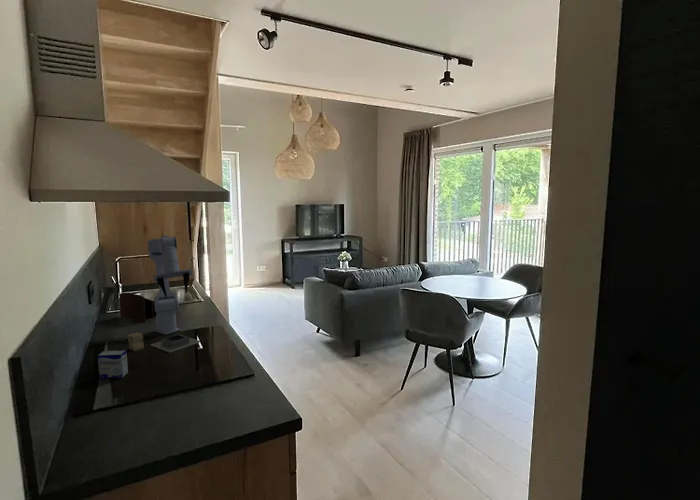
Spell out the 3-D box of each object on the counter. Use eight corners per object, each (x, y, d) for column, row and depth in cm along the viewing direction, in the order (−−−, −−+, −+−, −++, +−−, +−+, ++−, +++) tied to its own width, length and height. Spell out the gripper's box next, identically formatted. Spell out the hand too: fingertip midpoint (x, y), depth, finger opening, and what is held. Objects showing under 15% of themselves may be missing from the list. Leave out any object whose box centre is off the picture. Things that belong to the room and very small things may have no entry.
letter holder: (144, 322, 201) (142, 295, 200) (120, 318, 210) (117, 291, 208) (161, 317, 210) (160, 291, 208) (137, 313, 219) (135, 288, 217)
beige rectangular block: (129, 349, 165) (128, 335, 164) (138, 346, 168) (137, 332, 167) (134, 351, 162) (132, 336, 162) (143, 348, 166) (142, 334, 165)
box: (98, 379, 136) (96, 355, 135) (105, 373, 141) (103, 350, 140) (122, 378, 137) (120, 354, 136) (128, 372, 142) (126, 349, 141)
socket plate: (150, 345, 168) (150, 339, 168) (181, 336, 179) (180, 330, 179) (169, 352, 160) (169, 346, 160) (200, 342, 171) (199, 336, 171)
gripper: (150, 262, 159) (155, 294, 155) (189, 256, 165) (194, 287, 160) (152, 269, 165) (157, 299, 160) (189, 263, 171) (195, 292, 166)
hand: (176, 293), depth 161 cm, fingers open, 7 cm apart
